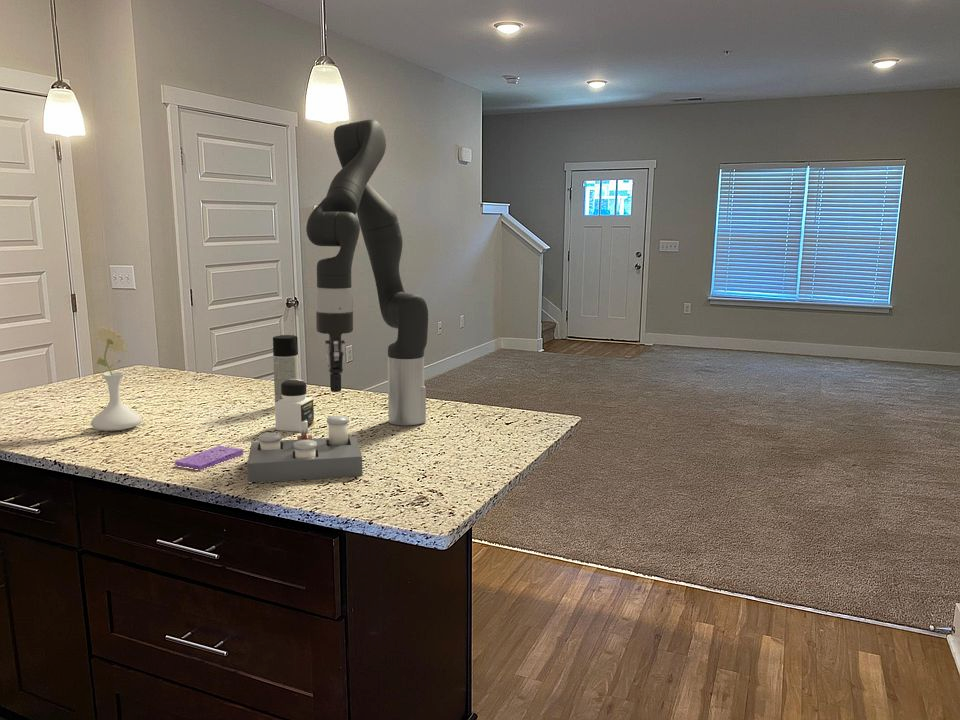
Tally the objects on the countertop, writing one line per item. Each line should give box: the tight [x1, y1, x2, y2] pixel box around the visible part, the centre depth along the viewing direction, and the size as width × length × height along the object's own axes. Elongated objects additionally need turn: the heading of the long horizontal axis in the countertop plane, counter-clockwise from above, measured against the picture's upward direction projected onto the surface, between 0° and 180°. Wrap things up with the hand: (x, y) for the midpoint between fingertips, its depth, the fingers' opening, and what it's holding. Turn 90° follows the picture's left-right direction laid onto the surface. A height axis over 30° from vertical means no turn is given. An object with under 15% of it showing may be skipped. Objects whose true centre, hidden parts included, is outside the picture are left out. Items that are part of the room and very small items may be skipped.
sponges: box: [174, 445, 244, 470], centre depth 155 cm, size 7×13×2 cm, turn 155°
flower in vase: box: [90, 326, 143, 432], centre depth 177 cm, size 13×11×25 cm
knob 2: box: [326, 415, 350, 446], centre depth 155 cm, size 5×5×6 cm
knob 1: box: [258, 432, 283, 450], centre depth 152 cm, size 5×5×6 cm
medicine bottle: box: [274, 379, 315, 433], centre depth 180 cm, size 7×7×12 cm
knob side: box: [293, 440, 317, 458], centre depth 147 cm, size 5×5×6 cm
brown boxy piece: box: [296, 421, 313, 441], centre depth 153 cm, size 3×3×5 cm
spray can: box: [272, 334, 300, 403], centre depth 200 cm, size 7×7×20 cm
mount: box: [246, 435, 363, 483], centre depth 150 cm, size 22×15×4 cm
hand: (335, 391), depth 153 cm, fingers closed
